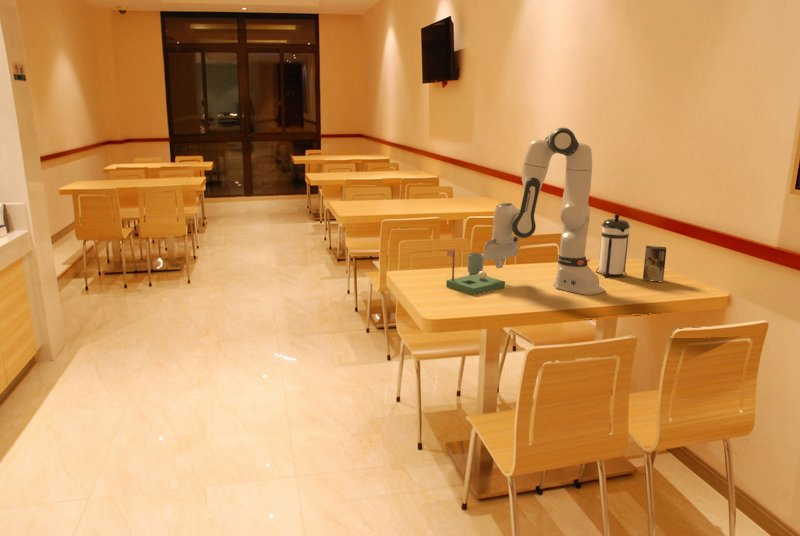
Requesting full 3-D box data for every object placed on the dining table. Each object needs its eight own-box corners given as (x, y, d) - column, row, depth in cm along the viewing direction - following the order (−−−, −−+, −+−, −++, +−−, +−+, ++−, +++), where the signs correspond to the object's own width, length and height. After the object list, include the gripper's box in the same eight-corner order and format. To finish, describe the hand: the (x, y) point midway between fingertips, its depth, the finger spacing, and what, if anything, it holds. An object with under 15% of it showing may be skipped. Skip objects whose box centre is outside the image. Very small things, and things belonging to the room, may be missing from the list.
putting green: (504, 287, 278) (506, 251, 274) (472, 295, 266) (474, 256, 262) (474, 278, 292) (475, 243, 288) (442, 285, 280) (443, 248, 276)
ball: (488, 279, 279) (488, 271, 279) (482, 281, 277) (482, 272, 276) (482, 277, 283) (482, 269, 282) (475, 279, 280) (476, 270, 279)
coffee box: (663, 279, 295) (666, 246, 291) (663, 282, 290) (667, 249, 286) (642, 277, 299) (646, 245, 295) (642, 280, 293) (645, 247, 289)
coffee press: (632, 274, 305) (639, 214, 297) (619, 280, 293) (626, 217, 286) (599, 268, 316) (604, 210, 308) (585, 274, 304) (590, 213, 297)
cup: (482, 272, 304) (483, 253, 301) (483, 276, 296) (484, 256, 294) (466, 272, 304) (467, 252, 302) (466, 276, 297) (467, 256, 295)
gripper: (490, 242, 274) (488, 272, 278) (521, 237, 286) (519, 266, 290) (480, 239, 279) (478, 269, 282) (511, 235, 291) (508, 263, 295)
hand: (499, 267), depth 286 cm, fingers closed
